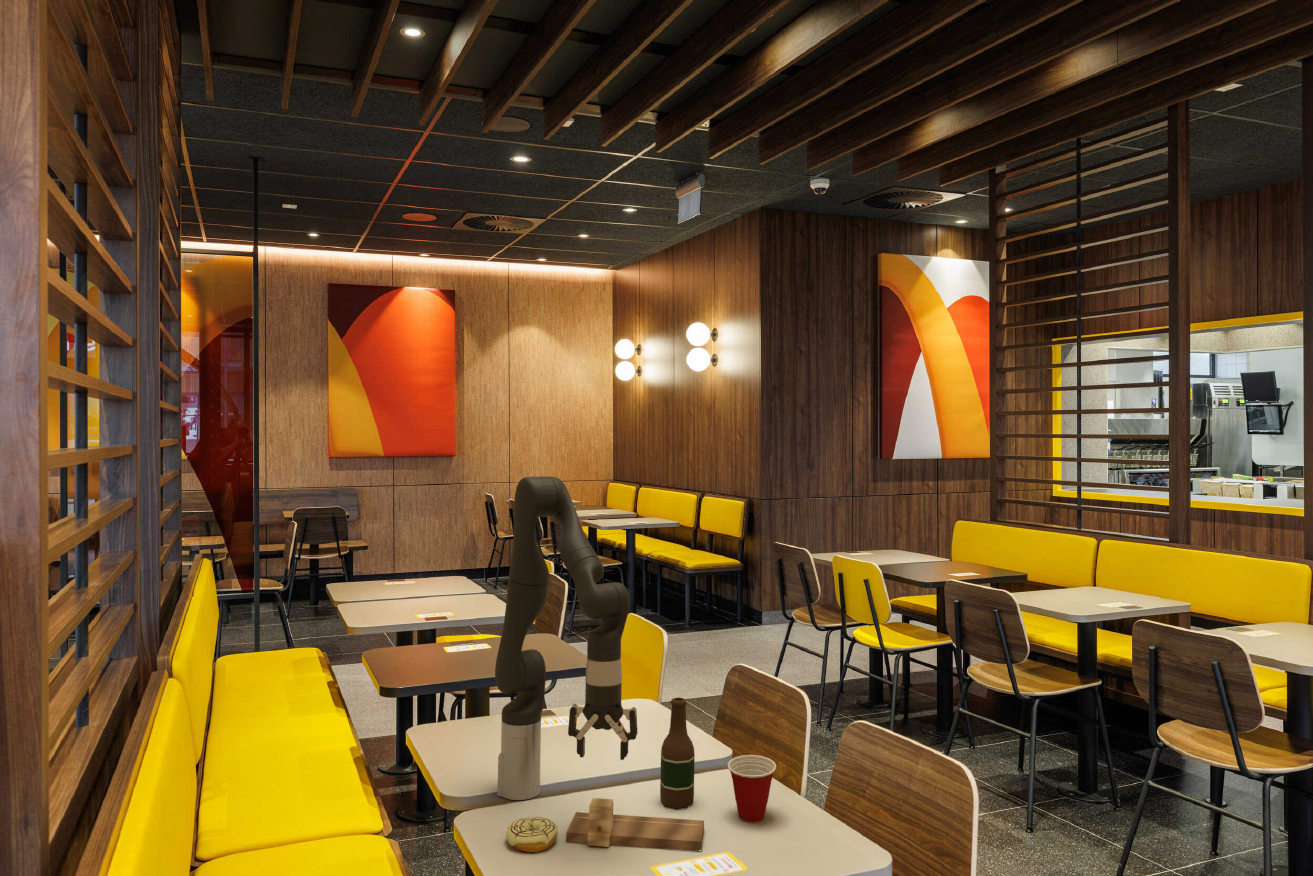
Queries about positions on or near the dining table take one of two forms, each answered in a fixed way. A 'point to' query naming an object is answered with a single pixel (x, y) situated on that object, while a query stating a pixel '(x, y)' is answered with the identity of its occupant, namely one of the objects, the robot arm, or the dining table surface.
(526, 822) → the decorated donut
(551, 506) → the robot arm
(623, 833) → the board
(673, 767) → the beer bottle
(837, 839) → the dining table surface
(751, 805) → the plastic cup
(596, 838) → the block
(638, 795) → the dining table surface
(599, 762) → the dining table surface
